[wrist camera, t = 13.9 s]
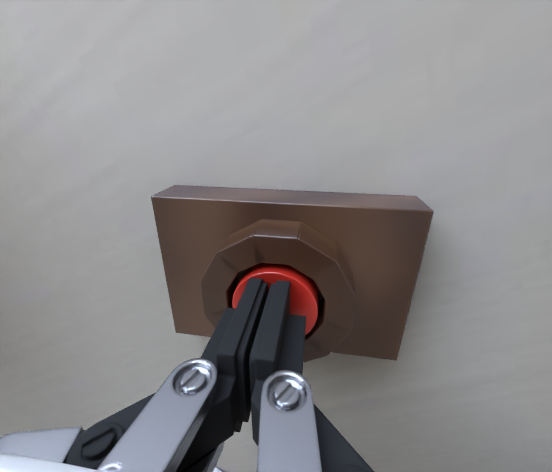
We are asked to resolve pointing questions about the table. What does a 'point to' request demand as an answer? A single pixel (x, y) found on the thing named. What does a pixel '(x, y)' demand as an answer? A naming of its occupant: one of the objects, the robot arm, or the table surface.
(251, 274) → the red button
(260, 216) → the switch block
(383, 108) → the table surface
